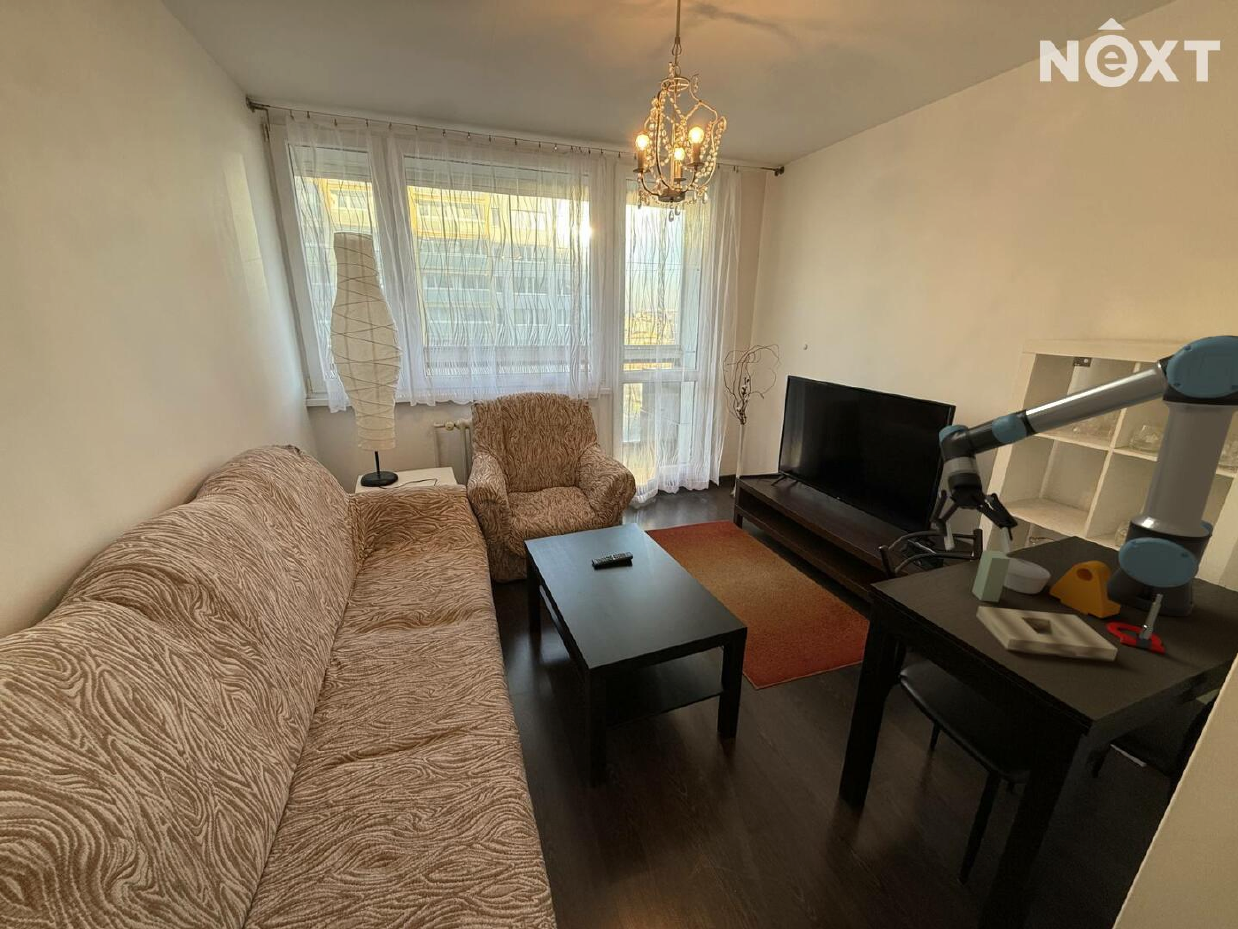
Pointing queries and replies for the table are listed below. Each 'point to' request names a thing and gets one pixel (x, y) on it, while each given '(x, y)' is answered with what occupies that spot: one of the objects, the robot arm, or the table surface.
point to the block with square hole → (1045, 634)
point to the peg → (991, 575)
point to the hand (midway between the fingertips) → (979, 551)
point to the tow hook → (1141, 630)
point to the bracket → (1086, 589)
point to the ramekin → (1025, 576)
